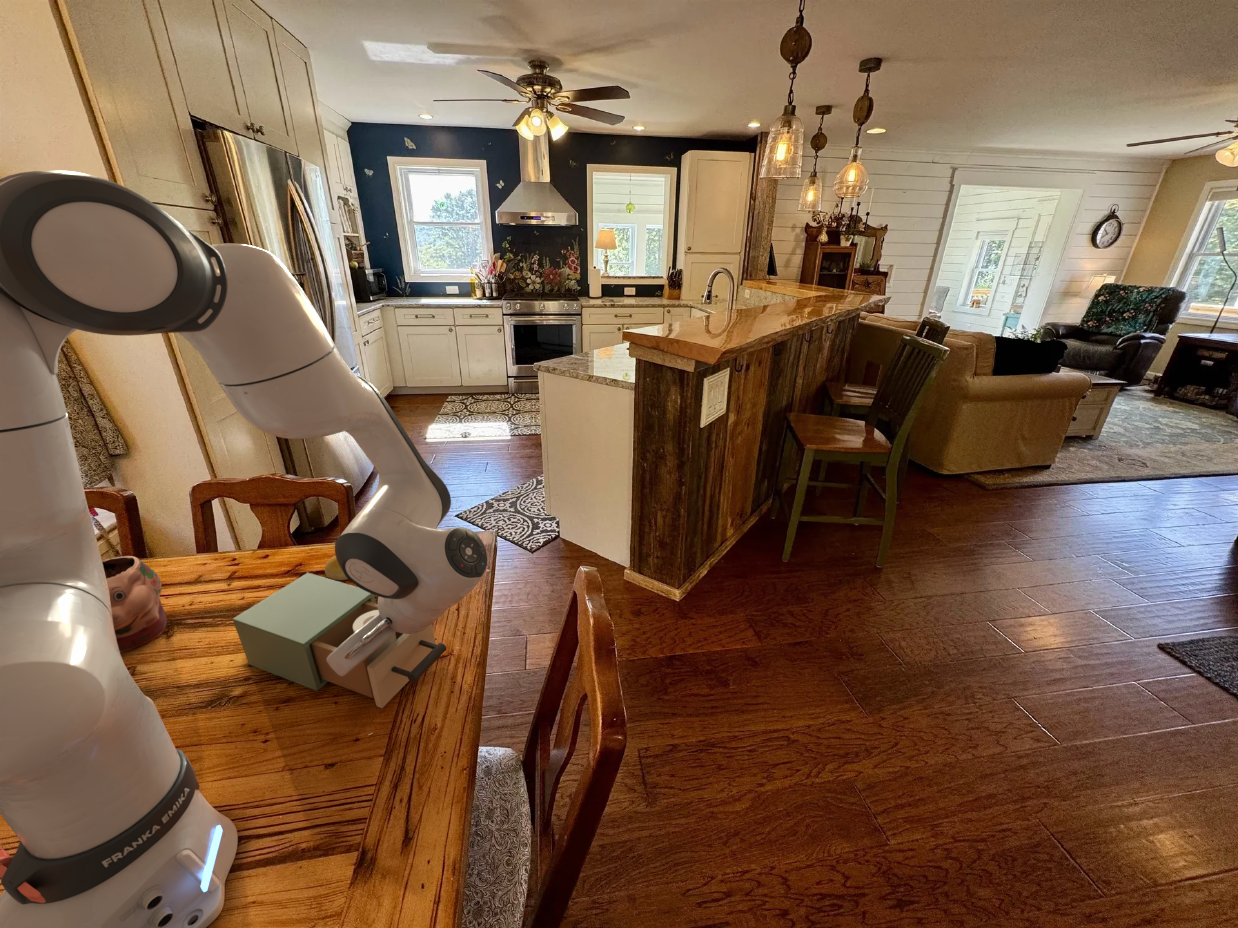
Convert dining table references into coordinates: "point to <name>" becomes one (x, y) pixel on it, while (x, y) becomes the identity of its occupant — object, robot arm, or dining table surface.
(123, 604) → the decorative planter
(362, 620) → the paper towel roll
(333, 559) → the bread roll
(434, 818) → the dining table surface
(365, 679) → the drawer
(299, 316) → the robot arm
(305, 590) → the cabinet
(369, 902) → the dining table surface
